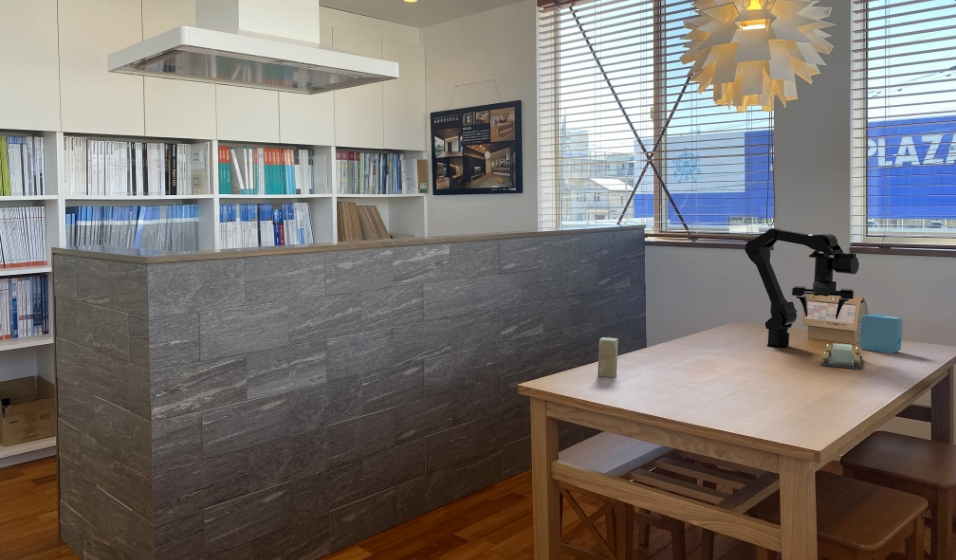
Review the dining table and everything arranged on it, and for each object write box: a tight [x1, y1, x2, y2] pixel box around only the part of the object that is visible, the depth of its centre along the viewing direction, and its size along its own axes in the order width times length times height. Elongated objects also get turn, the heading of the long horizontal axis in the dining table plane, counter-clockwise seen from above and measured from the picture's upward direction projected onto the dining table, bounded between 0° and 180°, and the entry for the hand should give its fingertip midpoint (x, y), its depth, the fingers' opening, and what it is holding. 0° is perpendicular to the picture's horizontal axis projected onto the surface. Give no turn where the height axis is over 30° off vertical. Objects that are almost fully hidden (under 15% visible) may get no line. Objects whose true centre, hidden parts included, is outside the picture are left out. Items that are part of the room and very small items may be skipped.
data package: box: [858, 313, 904, 354], centre depth 264 cm, size 12×4×12 cm, turn 44°
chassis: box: [820, 344, 863, 371], centre depth 246 cm, size 11×17×4 cm, turn 152°
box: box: [597, 336, 619, 378], centre depth 227 cm, size 5×4×11 cm
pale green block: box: [832, 343, 854, 363], centre depth 246 cm, size 6×10×4 cm, turn 156°
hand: (821, 317), depth 259 cm, fingers open, 9 cm apart
